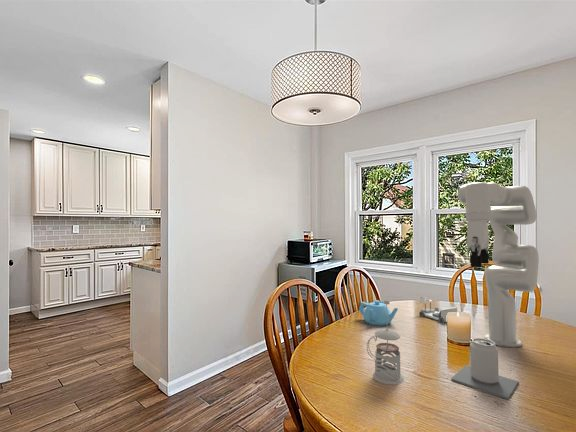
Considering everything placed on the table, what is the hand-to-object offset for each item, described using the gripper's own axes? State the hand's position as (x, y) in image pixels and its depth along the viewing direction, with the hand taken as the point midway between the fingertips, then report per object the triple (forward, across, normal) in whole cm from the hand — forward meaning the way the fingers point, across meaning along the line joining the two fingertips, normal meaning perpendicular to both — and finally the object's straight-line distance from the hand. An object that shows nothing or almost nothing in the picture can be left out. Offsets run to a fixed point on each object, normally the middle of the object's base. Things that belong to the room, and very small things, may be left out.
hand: (479, 265), depth 110 cm
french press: (+34, +32, -21) cm, 52 cm away
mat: (+35, +14, +4) cm, 38 cm away
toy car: (+37, -43, -31) cm, 65 cm away
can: (+34, +14, +4) cm, 37 cm away
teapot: (+36, -16, -50) cm, 63 cm away
